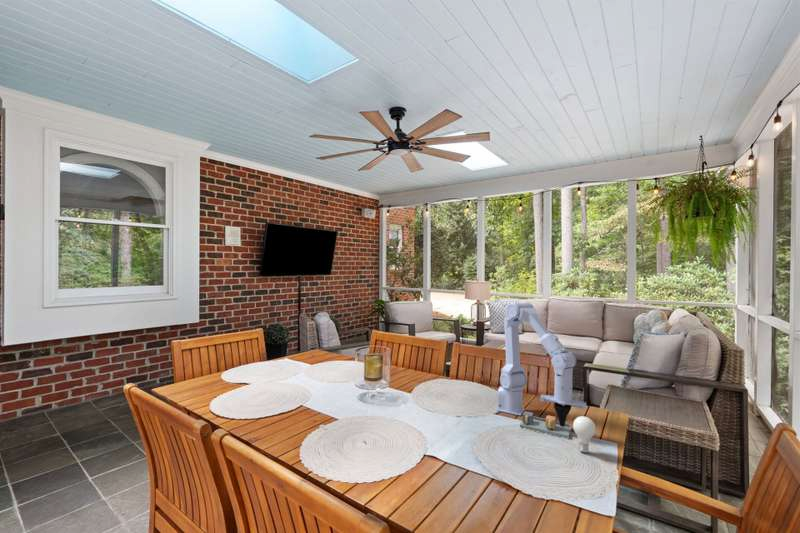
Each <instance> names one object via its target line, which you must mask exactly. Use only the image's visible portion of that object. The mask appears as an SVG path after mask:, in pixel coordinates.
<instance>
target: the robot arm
mask: <svg viewBox="0 0 800 533" xmlns="http://www.w3.org/2000/svg"><path fill="white" fill-rule="evenodd" d="M504 312H505V316H504V322H503V323H504V343H505V344H504V345H505V349H504V350H505V365H504V366H503V367H502V368H501V369H500V370H501V371H500V372H501V374H500V377H499V383H500V386H499V387H498V389H497V397H496V398H497V401H496V404H497V407H496V411H498V412H502V413H507V414H511V415H515V416H523V413H524V412H525V409H526V408H524V407H523V396H524V395H523V391H524V389H525V386H526V385H527V383H528V378H527V375H526V369H525V368H524V367H523V366H522V365H521V355H520V354H521V353H520V352H521V351H520V334H519V331H520V330H519V325H521V324H522V323H523V322H525V323H528V324H529V325H530V327H531V328H532V329H533V330H534V332H535V333H536V334H537V335H538V337H540V345H542V346H543V348H544V349H545V351H546V352H547V354H548V355H549V357H550V358H551V359H550V364H551V365H552V367H553V372H554V384H553V386H554V388H553V390H554V391H553V393H554V394H553V395H550V394H541V395H540V402H544V403H545V402H546V403H550V404H551V403H552V404H554V405H553V408H554V410H555V413H556V414H557V417H558V422H560V426H562V427H564V426H565V423H566V420H567V417H568V415H569V414H570V411H571V409H572V408H577V409H582V410H584V411H586V410H587V402H584V401H580V400H577V399H573V368H574V367H575V366H576V365H577V359H576V356H575V354H574V353H573V351H570V350H568V349H567V348H566V347H564V345H563V344H562V343H561V342H560V340H559V337H558V335H555V334H553V333H550V331H548V329H547V328H546V326H545V324H544V323H543V322H542V320H541V319H540V317H539V316H538V314H537V309H536V308H535V307H534V305H533V304H532V303H531V302H528V301H526V302H510V303H509V304H507V306H506V307H505V310H504Z"/></svg>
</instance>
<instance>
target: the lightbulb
mask: <svg viewBox="0 0 800 533" xmlns="http://www.w3.org/2000/svg"><path fill="white" fill-rule="evenodd" d="M572 427H573V431H574V432H575V434H576V436H577V440H578V445H579V446H578V450H579V451H580V452H581V453H585V454H586V453H589V446H590V442H591V439H592V438H593V437H594V435H595V433H596V430H597V428H596V425H595V423H594V421H593V420H592V419H591V418H590V417H588V416H584V415H582V416H577V417H576V418H575V419H574V420H573V424H572Z"/></svg>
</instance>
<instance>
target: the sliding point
mask: <svg viewBox="0 0 800 533" xmlns="http://www.w3.org/2000/svg"><path fill="white" fill-rule="evenodd" d="M545 419H546V424H545V427H548V428H549V429H551V428H552V429H555V427H556V421H557V417H556V416H553V415H549V414H548V415H546V417H545Z"/></svg>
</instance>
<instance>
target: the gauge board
mask: <svg viewBox="0 0 800 533" xmlns="http://www.w3.org/2000/svg"><path fill="white" fill-rule="evenodd" d="M545 424H546V418H543V417H539V416H534V412H531V411H525V410H524V412H523V413H522V421H521V422H520V424H519V428H520V427H521V428H520V429H523V428H526V429H525V430H527V429H530V430H529V431H531V430H534V431H533V432H536V431H539V432H538V433H540V432H543V433H542V434H544V433H547V434H546V435H548V434H552V435H556V436H555V437H557V436H559V437H558V438H561V437H564V438H563V439H565V438H568V439H567V440H570V436H569V435H571V432H572V427H573V424H572V425H571V424H570V423H567V422H565V426H564V427H562V426H560V422H559V420H558V421H557V420H556V427H555V429H552V428H551V429H549V428H548V427H545ZM552 435H551V436H552Z"/></svg>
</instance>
